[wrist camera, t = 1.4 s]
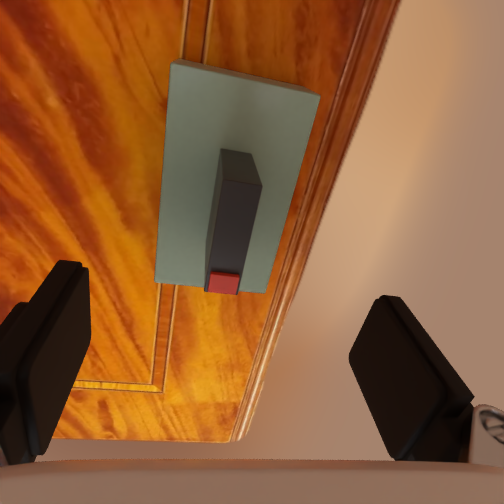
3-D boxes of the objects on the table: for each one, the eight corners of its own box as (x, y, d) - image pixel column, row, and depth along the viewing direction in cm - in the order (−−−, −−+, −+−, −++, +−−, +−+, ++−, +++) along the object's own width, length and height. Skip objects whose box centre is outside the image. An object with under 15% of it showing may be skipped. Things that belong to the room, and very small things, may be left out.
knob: (220, 147, 17) (223, 181, 13) (252, 153, 17) (263, 188, 13) (205, 243, 20) (203, 295, 16) (233, 246, 20) (238, 298, 16)
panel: (177, 58, 18) (170, 61, 15) (304, 86, 19) (321, 95, 16) (161, 252, 24) (153, 282, 21) (259, 264, 25) (265, 294, 22)
